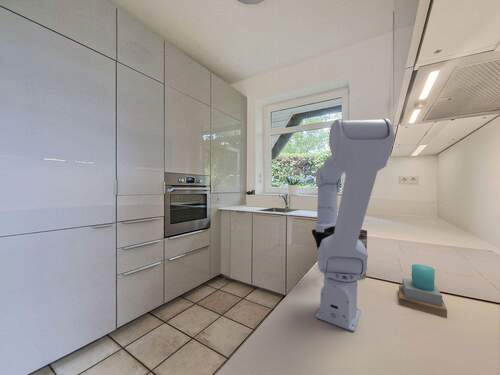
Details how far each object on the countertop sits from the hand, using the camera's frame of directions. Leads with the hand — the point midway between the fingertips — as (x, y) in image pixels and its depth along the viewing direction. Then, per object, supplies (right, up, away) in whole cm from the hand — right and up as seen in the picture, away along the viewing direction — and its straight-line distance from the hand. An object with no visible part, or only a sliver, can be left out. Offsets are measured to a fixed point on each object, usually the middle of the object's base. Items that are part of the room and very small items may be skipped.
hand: (326, 251), depth 64 cm
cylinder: (+22, -6, -9) cm, 24 cm away
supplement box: (+11, -10, +8) cm, 17 cm away
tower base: (+21, -11, -9) cm, 26 cm away
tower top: (+21, -9, -9) cm, 25 cm away
